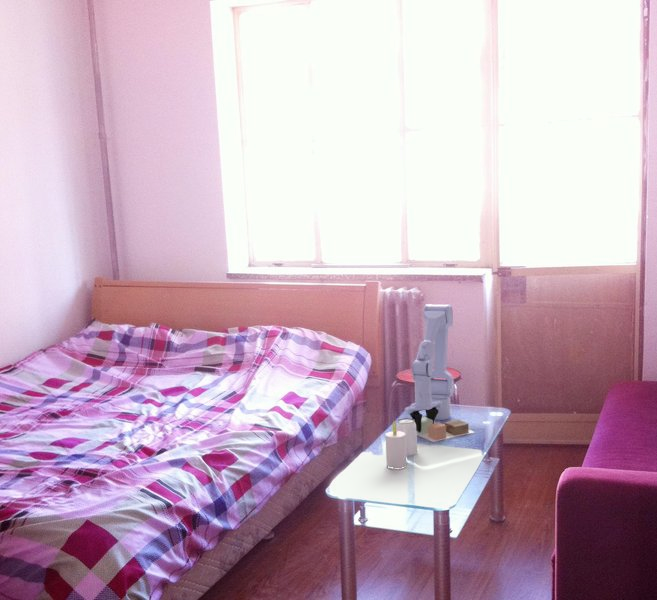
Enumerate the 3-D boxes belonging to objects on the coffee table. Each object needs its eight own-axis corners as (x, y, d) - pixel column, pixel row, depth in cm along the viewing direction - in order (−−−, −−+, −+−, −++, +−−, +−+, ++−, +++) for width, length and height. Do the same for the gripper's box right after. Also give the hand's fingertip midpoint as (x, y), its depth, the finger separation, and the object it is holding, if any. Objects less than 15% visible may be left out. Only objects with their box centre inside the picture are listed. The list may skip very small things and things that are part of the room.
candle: (406, 462, 248) (405, 417, 246) (405, 469, 242) (404, 423, 240) (387, 462, 249) (385, 417, 247) (385, 469, 243) (384, 423, 241)
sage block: (415, 431, 276) (415, 419, 275) (426, 428, 278) (425, 417, 277) (422, 434, 272) (422, 422, 271) (433, 431, 274) (432, 420, 273)
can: (395, 458, 252) (394, 423, 250) (399, 451, 258) (398, 417, 257) (415, 459, 250) (414, 423, 249) (418, 452, 256) (417, 417, 255)
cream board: (410, 434, 276) (410, 431, 276) (451, 425, 284) (451, 422, 284) (432, 444, 264) (432, 441, 263) (475, 434, 272) (475, 432, 271)
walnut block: (444, 431, 274) (444, 422, 274) (458, 428, 277) (458, 419, 276) (454, 435, 269) (454, 426, 268) (468, 432, 271) (468, 423, 271)
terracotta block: (428, 436, 269) (428, 424, 268) (438, 434, 271) (438, 422, 270) (435, 440, 265) (435, 427, 264) (446, 437, 267) (445, 425, 266)
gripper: (412, 398, 266) (413, 436, 268) (446, 392, 273) (447, 428, 275) (401, 394, 272) (402, 431, 274) (435, 387, 279) (436, 424, 281)
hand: (424, 429), depth 275 cm, fingers closed on sage block, 4 cm apart
